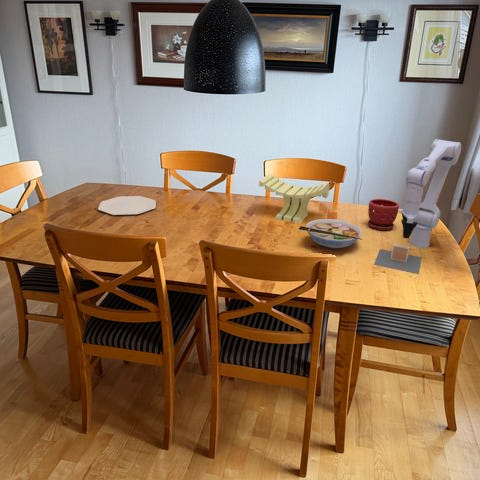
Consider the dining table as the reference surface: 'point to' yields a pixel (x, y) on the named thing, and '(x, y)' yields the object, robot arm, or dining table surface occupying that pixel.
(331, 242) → the ramen bowl
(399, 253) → the tile
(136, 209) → the plate
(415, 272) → the mat
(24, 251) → the dining table surface
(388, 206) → the plant pot
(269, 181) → the slatted curved stool
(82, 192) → the dining table surface
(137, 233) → the dining table surface
